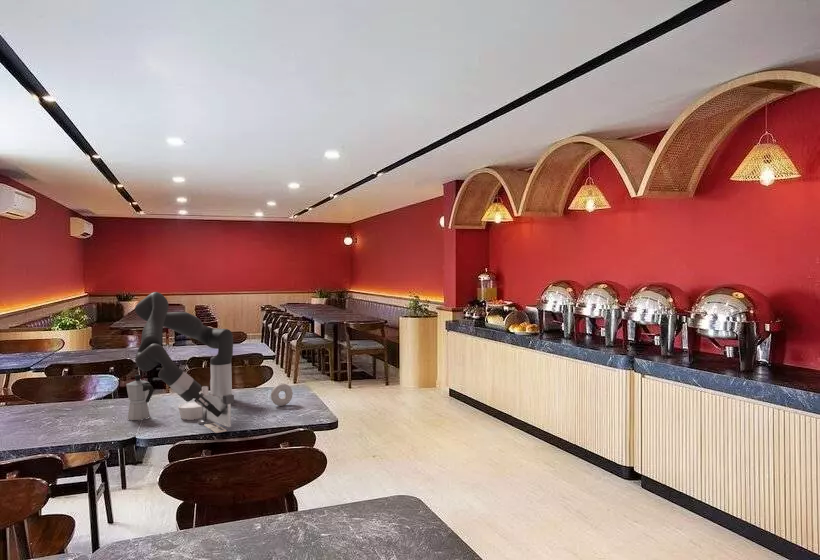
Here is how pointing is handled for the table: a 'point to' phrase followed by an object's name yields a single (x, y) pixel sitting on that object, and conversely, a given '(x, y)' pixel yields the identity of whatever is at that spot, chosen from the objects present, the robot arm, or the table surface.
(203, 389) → the white upright panel
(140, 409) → the coffee maker
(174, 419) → the table surface
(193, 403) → the ramekin
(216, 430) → the label
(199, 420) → the pivot base
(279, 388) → the donut
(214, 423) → the label
